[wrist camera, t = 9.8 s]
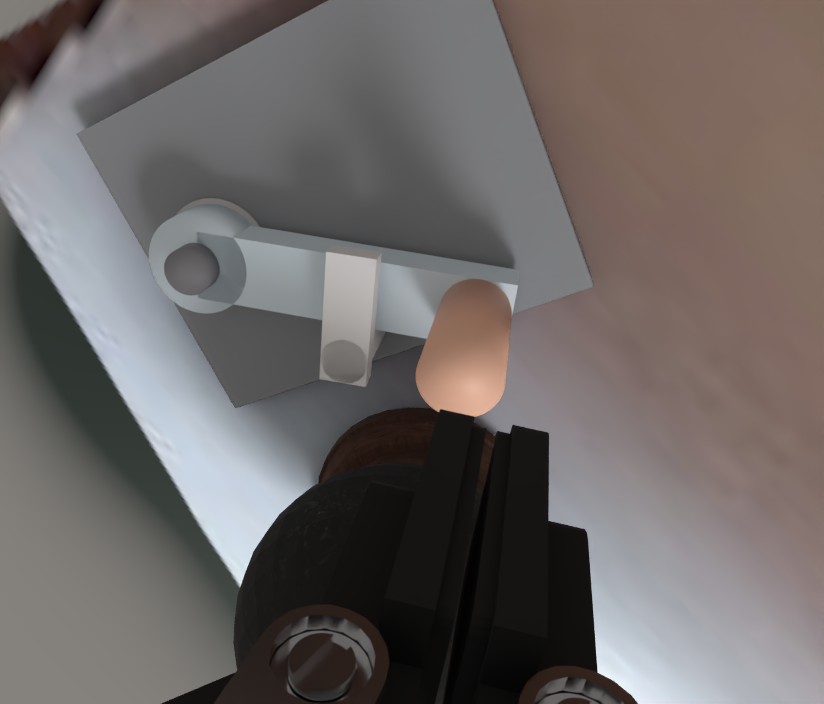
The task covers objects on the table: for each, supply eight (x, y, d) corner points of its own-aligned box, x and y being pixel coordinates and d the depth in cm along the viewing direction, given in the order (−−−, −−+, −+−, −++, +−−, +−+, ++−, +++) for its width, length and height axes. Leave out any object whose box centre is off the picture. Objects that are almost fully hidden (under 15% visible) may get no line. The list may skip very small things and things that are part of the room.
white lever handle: (172, 289, 33) (69, 361, 26) (169, 196, 31) (57, 247, 24) (504, 348, 31) (493, 442, 24) (522, 254, 29) (516, 327, 22)
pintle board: (242, 398, 36) (203, 448, 32) (89, 130, 32) (18, 147, 27) (592, 278, 31) (600, 319, 26) (468, -70, 26) (454, -90, 22)
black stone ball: (557, 596, 38) (567, 902, 25) (328, 594, 41) (226, 869, 28) (540, 382, 33) (542, 624, 20) (280, 396, 36) (125, 616, 22)
